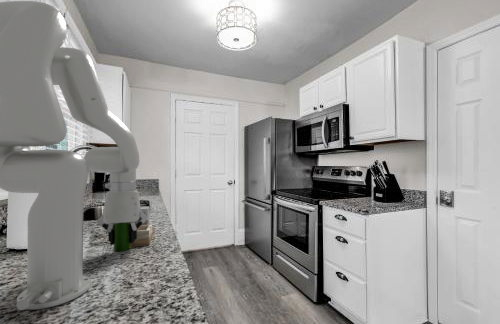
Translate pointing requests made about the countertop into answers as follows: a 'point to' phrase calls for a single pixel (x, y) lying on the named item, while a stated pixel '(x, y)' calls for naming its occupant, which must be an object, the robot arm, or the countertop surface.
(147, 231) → the wooden box with panel
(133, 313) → the countertop surface
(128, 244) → the beer can
